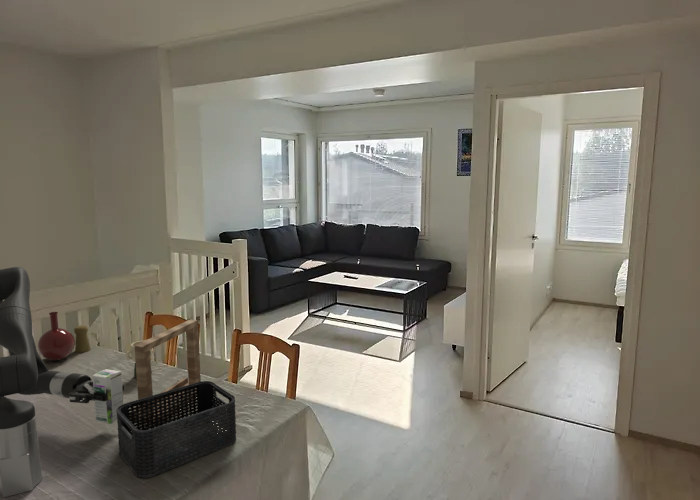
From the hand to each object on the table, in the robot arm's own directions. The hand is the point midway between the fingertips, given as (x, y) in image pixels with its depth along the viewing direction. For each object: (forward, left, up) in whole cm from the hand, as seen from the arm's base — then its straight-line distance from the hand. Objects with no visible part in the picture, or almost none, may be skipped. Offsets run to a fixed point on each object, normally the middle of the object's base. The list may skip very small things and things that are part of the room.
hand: (114, 392), depth 144 cm
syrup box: (+2, +2, -9) cm, 9 cm away
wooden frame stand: (+12, -17, -12) cm, 24 cm away
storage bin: (-16, -15, -13) cm, 26 cm away
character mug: (+40, -10, -13) cm, 43 cm away
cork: (+81, +11, -13) cm, 83 cm away
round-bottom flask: (+74, +20, -13) cm, 78 cm away
